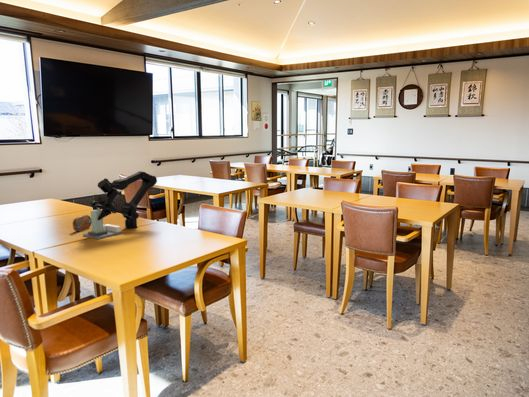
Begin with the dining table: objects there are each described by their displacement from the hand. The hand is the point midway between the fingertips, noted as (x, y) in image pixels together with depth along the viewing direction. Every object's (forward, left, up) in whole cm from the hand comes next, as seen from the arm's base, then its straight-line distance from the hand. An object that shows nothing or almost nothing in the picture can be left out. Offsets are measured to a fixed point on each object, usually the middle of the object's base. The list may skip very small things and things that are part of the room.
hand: (94, 219), depth 230 cm
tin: (+6, -20, -10) cm, 24 cm away
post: (-1, -1, -9) cm, 9 cm away
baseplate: (-5, -3, -10) cm, 11 cm away
